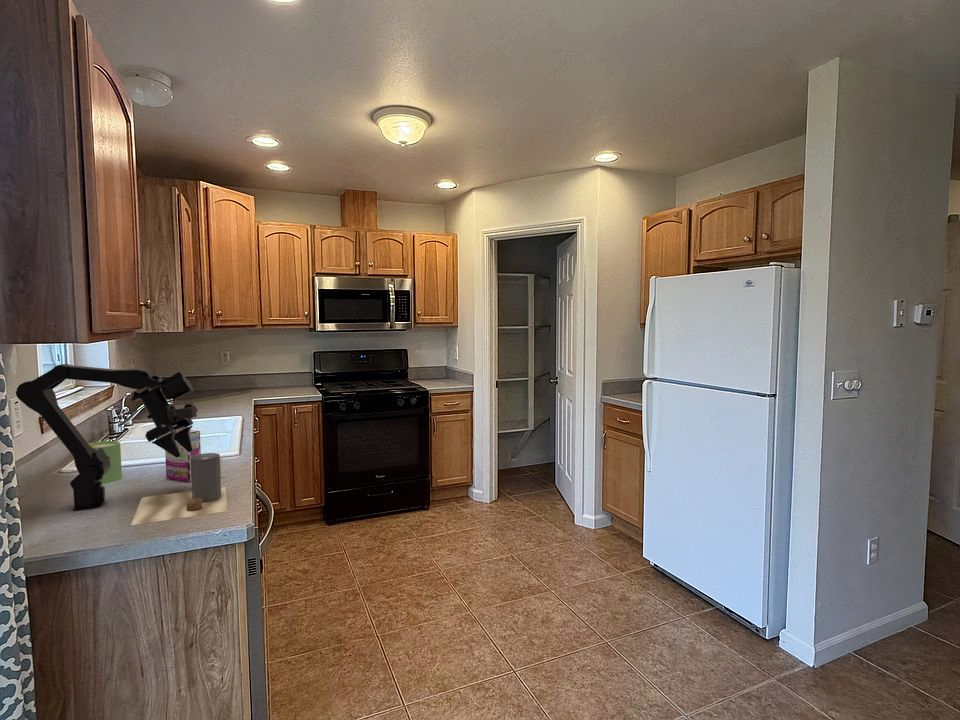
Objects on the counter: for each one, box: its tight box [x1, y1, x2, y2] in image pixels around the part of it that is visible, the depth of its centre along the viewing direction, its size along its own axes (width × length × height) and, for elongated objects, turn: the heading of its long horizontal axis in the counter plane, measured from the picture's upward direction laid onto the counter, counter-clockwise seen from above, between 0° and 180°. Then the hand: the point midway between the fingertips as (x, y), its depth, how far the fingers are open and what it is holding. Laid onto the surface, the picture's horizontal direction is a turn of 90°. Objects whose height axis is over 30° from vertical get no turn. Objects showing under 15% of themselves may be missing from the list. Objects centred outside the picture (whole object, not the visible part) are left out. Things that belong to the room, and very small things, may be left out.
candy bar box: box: [164, 429, 202, 483], centre depth 175 cm, size 11×5×16 cm, turn 68°
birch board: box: [130, 486, 228, 526], centre depth 149 cm, size 22×24×1 cm
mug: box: [77, 440, 123, 485], centre depth 174 cm, size 13×10×12 cm
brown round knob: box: [186, 498, 202, 511], centre depth 145 cm, size 4×4×2 cm
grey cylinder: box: [191, 452, 222, 503], centre depth 153 cm, size 7×7×12 cm
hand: (184, 453), depth 156 cm, fingers open, 9 cm apart
